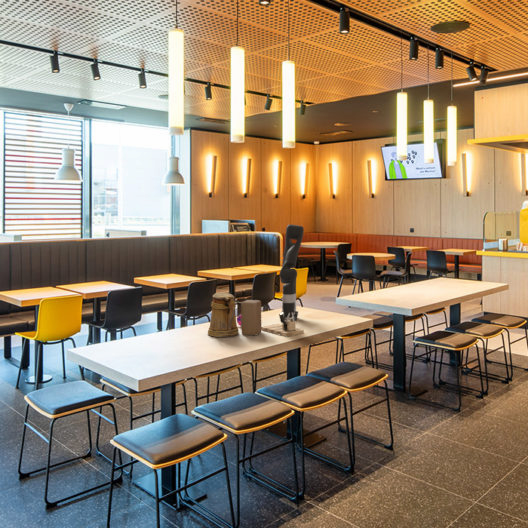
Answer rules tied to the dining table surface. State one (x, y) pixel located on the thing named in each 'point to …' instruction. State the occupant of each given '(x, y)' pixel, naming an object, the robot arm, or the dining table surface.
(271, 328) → the board
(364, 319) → the dining table surface
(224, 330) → the tankard
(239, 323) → the pencil case
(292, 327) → the sanding block
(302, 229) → the robot arm
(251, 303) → the wooden block
